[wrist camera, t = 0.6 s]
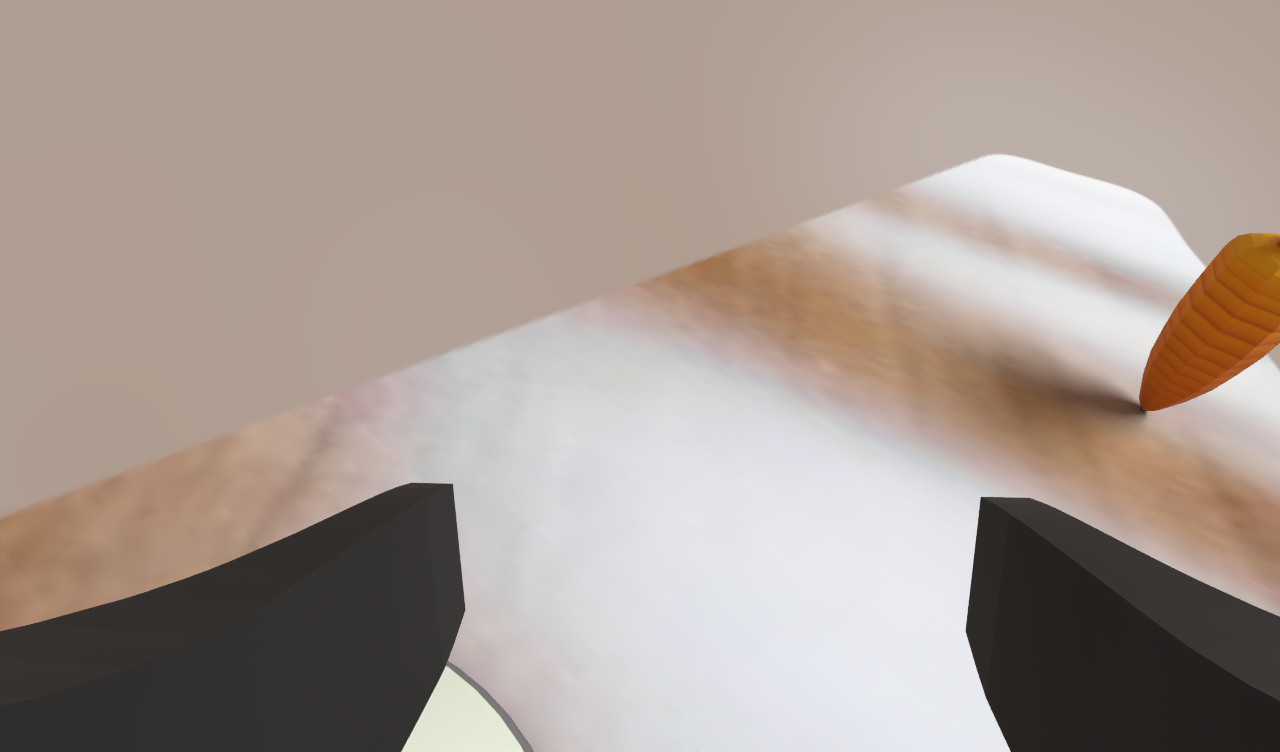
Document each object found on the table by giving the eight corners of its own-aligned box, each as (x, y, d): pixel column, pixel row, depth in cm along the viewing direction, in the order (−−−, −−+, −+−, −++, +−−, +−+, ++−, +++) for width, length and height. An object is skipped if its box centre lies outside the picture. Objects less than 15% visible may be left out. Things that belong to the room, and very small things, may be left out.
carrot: (1121, 432, 44) (1343, 202, 34) (1089, 371, 48) (1280, 146, 38) (1201, 448, 45) (1442, 227, 35) (1163, 387, 49) (1371, 169, 38)
